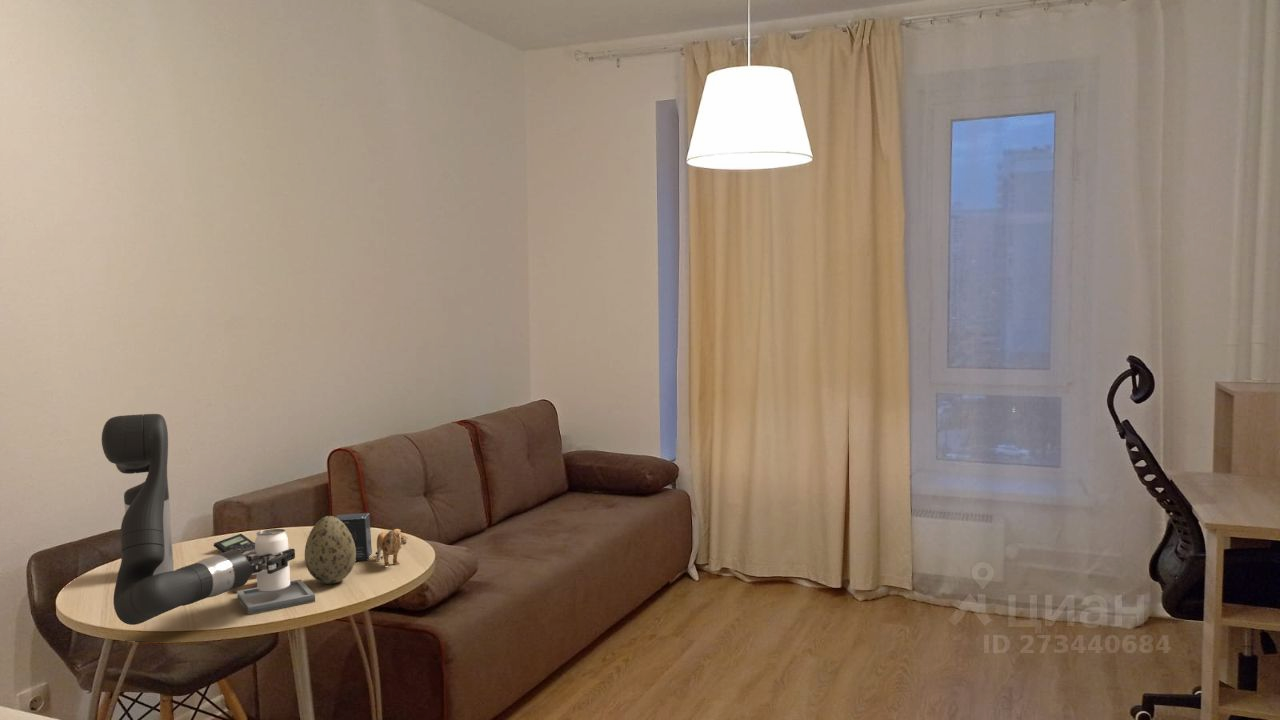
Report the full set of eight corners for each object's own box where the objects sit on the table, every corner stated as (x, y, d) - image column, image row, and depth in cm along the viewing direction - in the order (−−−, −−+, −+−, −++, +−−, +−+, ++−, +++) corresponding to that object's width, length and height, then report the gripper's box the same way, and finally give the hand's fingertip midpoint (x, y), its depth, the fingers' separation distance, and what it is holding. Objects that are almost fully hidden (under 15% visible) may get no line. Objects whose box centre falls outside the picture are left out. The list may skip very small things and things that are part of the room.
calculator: (251, 557, 228) (251, 545, 228) (213, 554, 232) (213, 542, 231) (277, 547, 237) (276, 535, 237) (240, 544, 241) (239, 533, 240)
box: (372, 554, 226) (369, 512, 226) (367, 561, 221) (365, 517, 220) (339, 556, 226) (337, 514, 225) (334, 563, 220) (331, 519, 219)
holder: (237, 593, 199) (236, 586, 199) (229, 581, 207) (229, 575, 207) (285, 584, 204) (285, 577, 204) (276, 573, 213) (275, 567, 213)
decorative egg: (333, 573, 212) (329, 509, 211) (367, 578, 207) (364, 513, 206) (295, 586, 202) (291, 519, 201) (330, 593, 197) (327, 524, 196)
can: (278, 592, 190) (275, 535, 189) (250, 592, 191) (247, 535, 191) (296, 584, 196) (293, 528, 196) (269, 583, 197) (266, 528, 197)
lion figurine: (412, 566, 215) (410, 528, 215) (390, 571, 212) (388, 533, 211) (385, 554, 227) (383, 518, 226) (364, 558, 223) (362, 522, 223)
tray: (248, 614, 185) (248, 607, 185) (237, 597, 196) (237, 591, 196) (315, 601, 192) (314, 594, 192) (300, 586, 203) (300, 579, 203)
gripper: (245, 558, 177) (308, 537, 192) (190, 552, 182) (255, 532, 198) (247, 596, 177) (309, 572, 193) (192, 589, 183) (257, 566, 198)
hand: (282, 552), depth 195 cm, fingers closed on can, 5 cm apart
